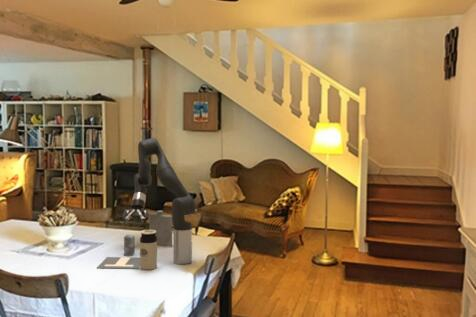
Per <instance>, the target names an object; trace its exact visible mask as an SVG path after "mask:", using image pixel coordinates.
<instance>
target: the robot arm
mask: <svg viewBox="0 0 476 317" xmlns="http://www.w3.org/2000/svg"><path fill="white" fill-rule="evenodd" d="M137 154H138V171H137V172H138V173H136V174H134V178H133V182H134V193H133V196H132V199H131V200H132V201H131V205H130V209H127V208H125V209H124V211H123V213H122V220H123V221H124V226H125V227H128V225H129V220H131V219H132V218H136V219H137V218H140V219H141V220H140V227H144V226H145V221H149V214H150V211H149V209H146V210H145V205H146V199H147V191H148V188H147V187H149V186H151V185H152V181H153V178H152V177H153V176H152V175H151V171H152V164H151V162H150V161H149V160H148V159H147V158H146V157H150V156H153V155H155V156H156V158H157V165H156V170H155V171H156V172H155V173H156V177H157V178H158V181H159V182H160V184H161V185H162V186H163V187H164V188H165V189H167V190H168V191H170V192H171V193H172V194H174V195H175V196H176V198H174V199H173V200H172V201H171V216H172V227H173V244H172V246H173V247H172V248H173V258H172V259H173V263H174V264H176V265H177V264H178V265H187V264H191V263H192V260H193V242H192V240H193V238H192V237H193V234H192V231H193V230H192V228H193V224H192V222H191V221H186V220H185V216H188V215H191V214H194V213H195V212H196V209H197V207H196V203H195V199H194V198H193V197H192V196H191V194H190V193H189V191H188V190H187V189H186V188H185V187H184V185H183V183H182V181H181V180H180V178H179V177H178V174H177V172H176V171H175V170H174V167H173V166H172V165H171V163H170V162H169V160H168V159H167V157H166V155H165V152H164V151H163V149H162V146H161V144H160V143H159V141H158V140H157V138H154V137H151V138H147V139H143V140H140V141H139V142H138V146H137ZM143 214H145V217H144V215H143Z"/></svg>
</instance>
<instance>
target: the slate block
mask: <svg viewBox="0 0 476 317" xmlns="http://www.w3.org/2000/svg"><path fill="white" fill-rule="evenodd" d="M135 239H136V238H135V235H134V234H126V235H125V236H123V255H124V256H123V257H125V256H126V257H133V256H134V255H135V248H136V247H135V244H136V242H135Z"/></svg>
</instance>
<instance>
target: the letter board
mask: <svg viewBox="0 0 476 317" xmlns="http://www.w3.org/2000/svg"><path fill="white" fill-rule="evenodd" d="M139 268H140V256H139V257H135V256H134V257H133V256H126V257H125V256H106V258H105V259H104V260H103V261H102V262H101V263H100V264H99V265H98V266H96V269H97V270H98V269H99V270H100V269H103V270H104V269H106V270H108V269H109V270H113V269H114V270H138V269H139Z"/></svg>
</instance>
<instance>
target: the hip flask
mask: <svg viewBox="0 0 476 317" xmlns="http://www.w3.org/2000/svg"><path fill="white" fill-rule="evenodd" d="M163 213H164V211H163V210H157V211H156V212H154V213H153V212H149V217H148V221H149V227H148V228H149V229H148V230H155V231H156V234H155V235H156V237H157V246H160V247H167V246H171V247H172V246H173V222H172V215H169V214H168V215H167V214H163Z"/></svg>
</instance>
